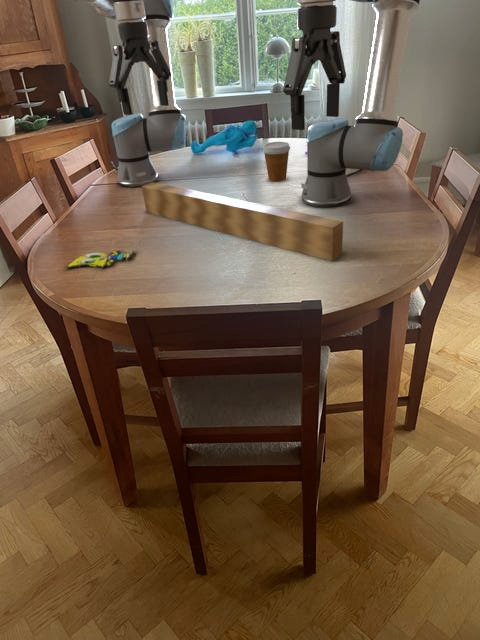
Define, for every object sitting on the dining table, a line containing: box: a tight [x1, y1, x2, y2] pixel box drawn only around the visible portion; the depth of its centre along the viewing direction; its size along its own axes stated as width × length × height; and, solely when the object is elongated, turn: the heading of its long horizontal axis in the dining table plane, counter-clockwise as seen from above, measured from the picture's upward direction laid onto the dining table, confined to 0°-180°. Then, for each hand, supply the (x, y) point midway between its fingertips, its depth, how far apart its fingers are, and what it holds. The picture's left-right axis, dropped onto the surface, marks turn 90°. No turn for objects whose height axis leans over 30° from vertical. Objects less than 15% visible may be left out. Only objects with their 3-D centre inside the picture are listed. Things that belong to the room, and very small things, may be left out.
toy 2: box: [189, 120, 258, 155], centre depth 209 cm, size 17×11×30 cm
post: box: [141, 181, 344, 262], centre depth 134 cm, size 68×5×8 cm, turn 50°
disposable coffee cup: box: [262, 141, 291, 183], centre depth 169 cm, size 10×10×12 cm
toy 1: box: [66, 249, 134, 270], centre depth 125 cm, size 10×1×15 cm
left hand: (146, 109), depth 135 cm, fingers open, 13 cm apart
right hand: (315, 122), depth 103 cm, fingers open, 13 cm apart
